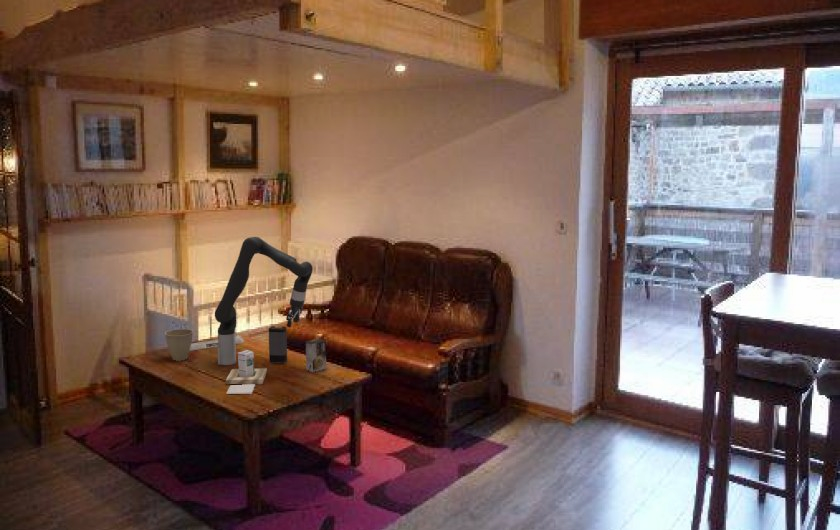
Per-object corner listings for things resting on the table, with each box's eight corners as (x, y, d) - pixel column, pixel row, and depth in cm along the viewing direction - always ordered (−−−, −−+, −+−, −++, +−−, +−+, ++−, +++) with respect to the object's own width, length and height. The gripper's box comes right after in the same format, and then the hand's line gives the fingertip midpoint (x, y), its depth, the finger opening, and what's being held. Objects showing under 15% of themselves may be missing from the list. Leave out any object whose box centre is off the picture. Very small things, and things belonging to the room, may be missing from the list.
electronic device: (287, 360, 377) (287, 326, 374) (284, 363, 371) (284, 329, 368) (272, 360, 378) (271, 325, 375) (268, 363, 372) (267, 328, 369)
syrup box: (246, 381, 342) (245, 354, 340) (238, 379, 345) (237, 352, 343) (255, 378, 347) (254, 351, 344) (246, 376, 350) (246, 349, 348)
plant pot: (161, 362, 372) (159, 335, 369) (174, 355, 386) (172, 328, 384) (186, 363, 370) (185, 336, 367) (198, 356, 385) (197, 329, 382)
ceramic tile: (226, 395, 322) (226, 393, 322) (230, 386, 334) (230, 384, 333) (251, 394, 323) (251, 392, 323) (255, 386, 335) (255, 384, 335)
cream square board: (225, 384, 336) (225, 380, 336) (232, 373, 354) (232, 369, 354) (262, 384, 338) (261, 379, 338) (266, 372, 356) (266, 368, 355)
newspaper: (187, 352, 393) (187, 346, 392) (182, 347, 403) (182, 342, 403) (245, 344, 413) (245, 338, 412) (239, 339, 423) (239, 334, 422)
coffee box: (319, 366, 367) (319, 338, 365) (326, 369, 363) (326, 340, 360) (305, 369, 361) (305, 341, 359) (312, 372, 357) (312, 343, 354)
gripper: (297, 291, 365) (291, 318, 370) (285, 298, 352) (280, 326, 357) (309, 296, 364) (304, 322, 369) (298, 303, 351) (292, 330, 356)
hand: (292, 324), depth 363 cm, fingers open, 8 cm apart
